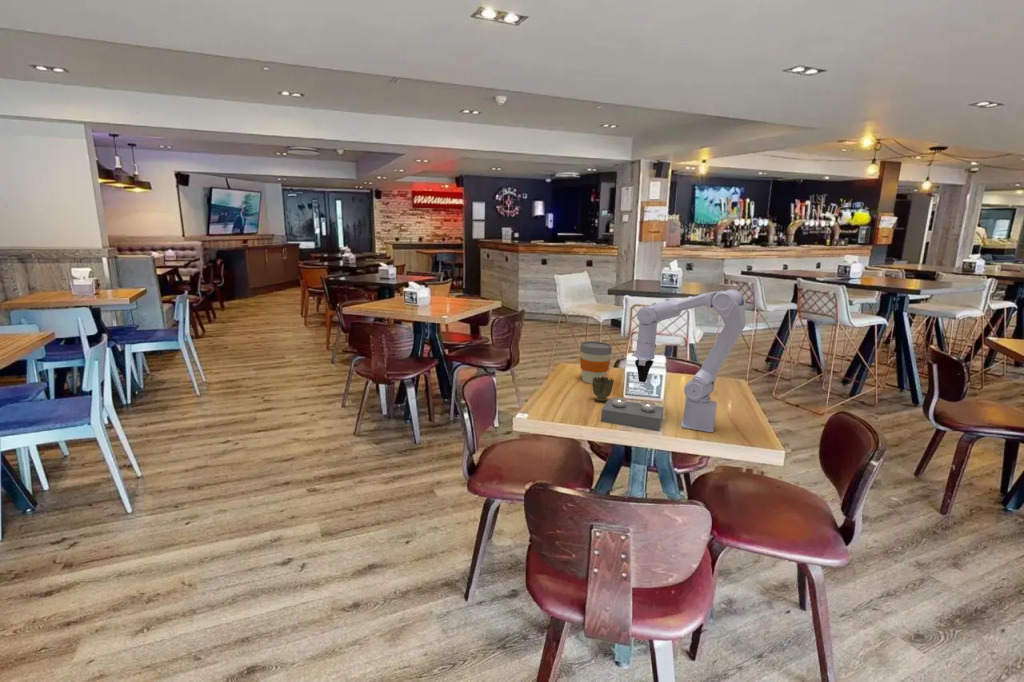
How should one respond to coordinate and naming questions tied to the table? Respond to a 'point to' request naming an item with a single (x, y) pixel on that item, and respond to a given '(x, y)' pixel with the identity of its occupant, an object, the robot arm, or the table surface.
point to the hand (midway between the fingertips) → (642, 381)
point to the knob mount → (632, 415)
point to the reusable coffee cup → (594, 360)
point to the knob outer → (619, 402)
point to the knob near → (648, 406)
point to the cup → (602, 388)
